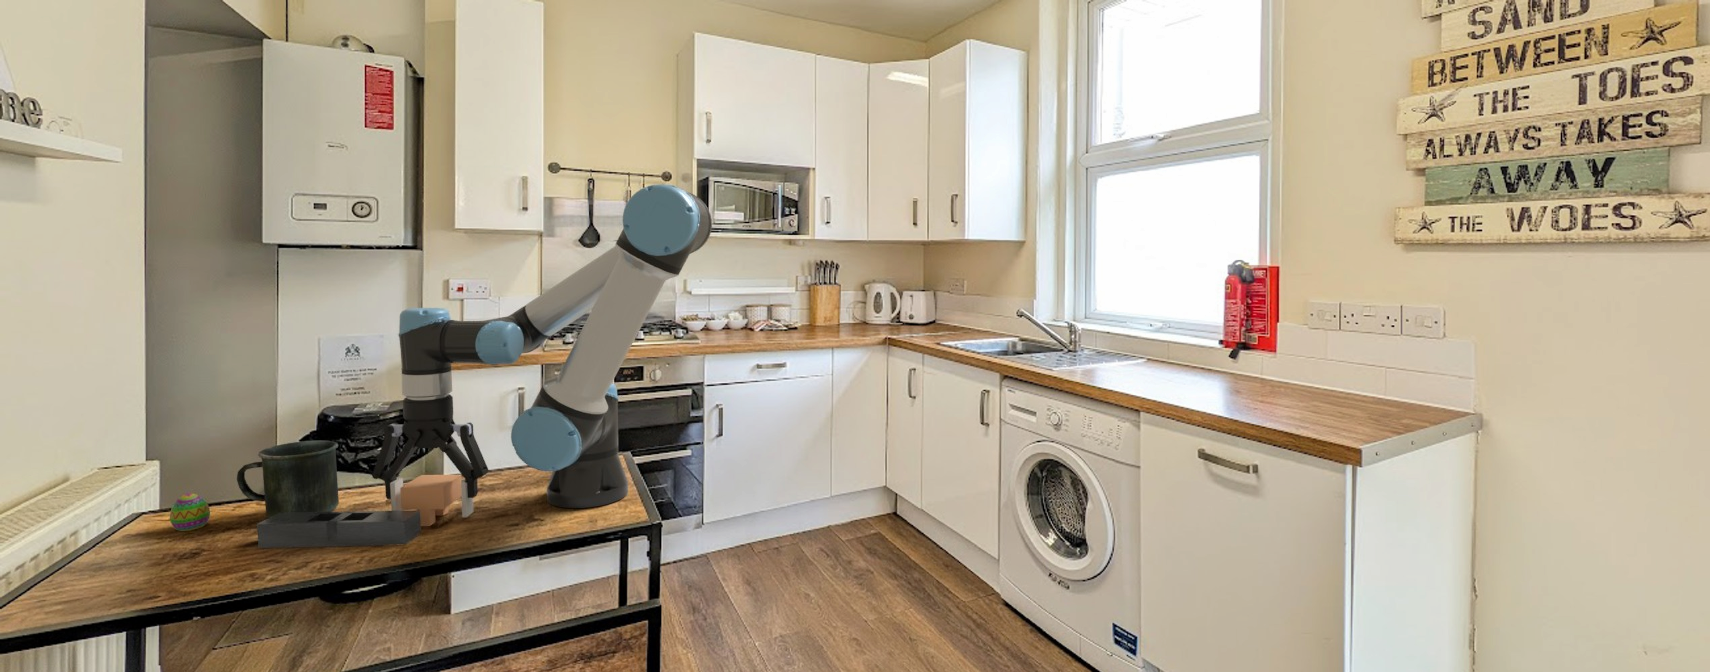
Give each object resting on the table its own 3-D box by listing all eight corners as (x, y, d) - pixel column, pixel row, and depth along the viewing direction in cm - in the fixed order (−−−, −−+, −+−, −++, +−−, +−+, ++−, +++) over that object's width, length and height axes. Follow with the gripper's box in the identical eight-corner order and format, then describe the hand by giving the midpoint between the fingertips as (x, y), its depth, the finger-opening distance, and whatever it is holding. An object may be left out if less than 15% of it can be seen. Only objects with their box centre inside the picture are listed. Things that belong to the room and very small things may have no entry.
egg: (217, 525, 118) (214, 491, 118) (181, 535, 114) (177, 500, 113) (201, 520, 120) (198, 487, 120) (164, 530, 116) (161, 496, 115)
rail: (421, 532, 117) (420, 510, 117) (405, 544, 112) (404, 521, 112) (280, 535, 115) (279, 512, 114) (258, 548, 110) (256, 524, 109)
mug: (333, 518, 123) (329, 453, 121) (228, 530, 116) (222, 461, 115) (348, 498, 132) (344, 438, 131) (252, 508, 126) (247, 444, 125)
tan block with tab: (422, 511, 126) (421, 475, 126) (462, 511, 127) (461, 474, 127) (402, 526, 120) (400, 487, 119) (445, 525, 120) (443, 487, 120)
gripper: (506, 391, 126) (509, 506, 128) (368, 391, 123) (375, 508, 126) (489, 400, 119) (493, 521, 121) (342, 399, 116) (350, 524, 118)
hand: (433, 515), depth 123 cm, fingers open, 11 cm apart
